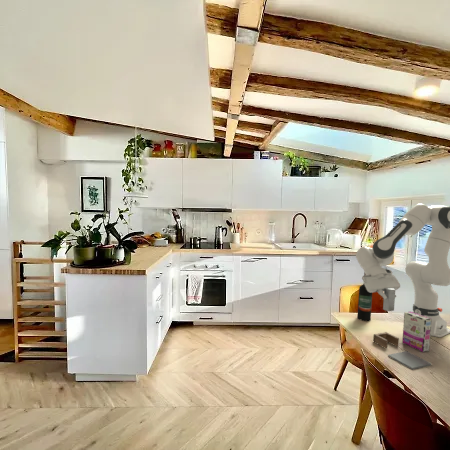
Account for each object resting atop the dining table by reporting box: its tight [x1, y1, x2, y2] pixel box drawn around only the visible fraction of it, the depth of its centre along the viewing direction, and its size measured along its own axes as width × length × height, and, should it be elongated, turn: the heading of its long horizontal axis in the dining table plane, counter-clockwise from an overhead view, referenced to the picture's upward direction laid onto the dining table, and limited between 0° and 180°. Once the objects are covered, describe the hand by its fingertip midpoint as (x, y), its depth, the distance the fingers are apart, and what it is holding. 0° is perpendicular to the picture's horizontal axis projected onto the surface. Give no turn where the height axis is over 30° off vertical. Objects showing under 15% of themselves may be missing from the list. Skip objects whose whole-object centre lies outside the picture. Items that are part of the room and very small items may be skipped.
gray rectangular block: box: [382, 288, 396, 312], centre depth 152 cm, size 4×3×11 cm
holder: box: [372, 331, 400, 349], centre depth 154 cm, size 9×7×4 cm
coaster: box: [387, 350, 432, 370], centre depth 138 cm, size 12×12×1 cm
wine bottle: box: [356, 271, 373, 322], centre depth 187 cm, size 8×8×30 cm
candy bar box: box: [401, 311, 432, 353], centre depth 151 cm, size 11×5×16 cm, turn 23°
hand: (390, 298), depth 152 cm, fingers closed on gray rectangular block, 4 cm apart
